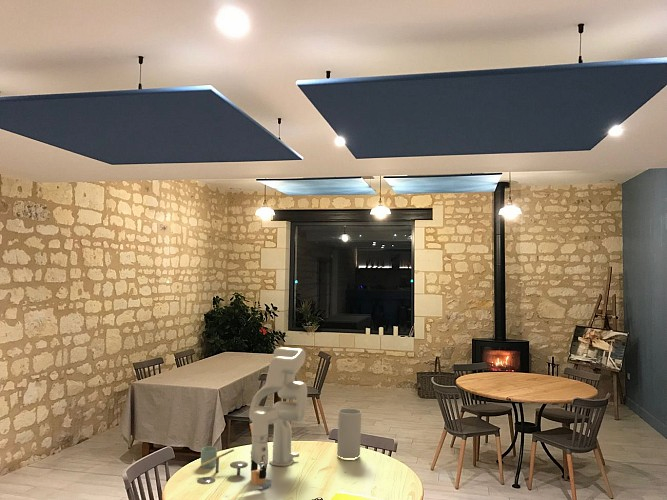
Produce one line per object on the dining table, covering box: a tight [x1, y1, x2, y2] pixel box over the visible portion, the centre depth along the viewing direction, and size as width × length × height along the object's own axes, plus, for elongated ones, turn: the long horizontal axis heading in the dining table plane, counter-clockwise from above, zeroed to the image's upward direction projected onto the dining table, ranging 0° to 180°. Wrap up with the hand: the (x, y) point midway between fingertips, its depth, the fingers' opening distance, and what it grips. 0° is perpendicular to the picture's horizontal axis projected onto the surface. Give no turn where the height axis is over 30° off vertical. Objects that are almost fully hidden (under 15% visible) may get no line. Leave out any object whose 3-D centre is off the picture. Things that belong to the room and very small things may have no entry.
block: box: [250, 468, 265, 486], centre depth 248 cm, size 5×5×5 cm
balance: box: [196, 448, 249, 485], centre depth 254 cm, size 24×14×11 cm, turn 122°
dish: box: [256, 477, 272, 491], centre depth 248 cm, size 12×12×1 cm
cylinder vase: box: [336, 407, 362, 458], centre depth 291 cm, size 12×12×25 cm
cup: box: [200, 445, 218, 469], centre depth 266 cm, size 8×8×10 cm
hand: (258, 474), depth 248 cm, fingers open, 9 cm apart
